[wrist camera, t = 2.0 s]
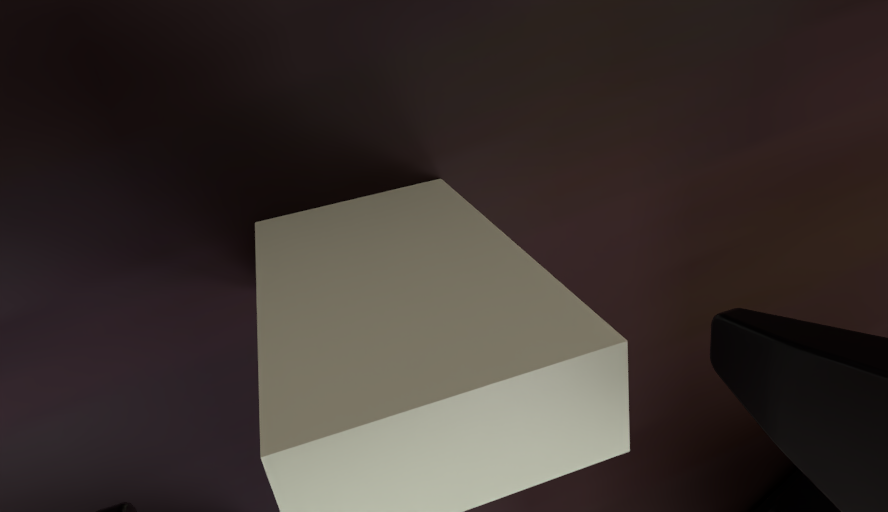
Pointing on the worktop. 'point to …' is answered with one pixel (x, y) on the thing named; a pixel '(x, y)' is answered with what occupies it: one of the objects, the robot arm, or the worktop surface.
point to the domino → (423, 360)
